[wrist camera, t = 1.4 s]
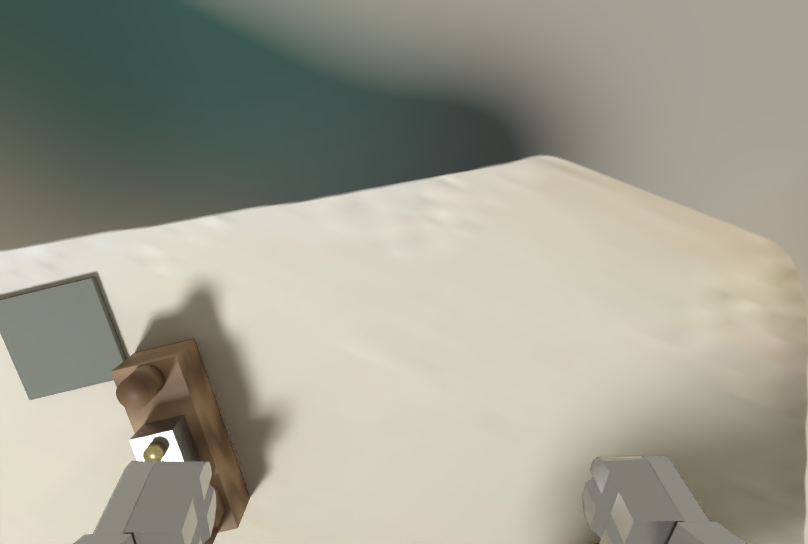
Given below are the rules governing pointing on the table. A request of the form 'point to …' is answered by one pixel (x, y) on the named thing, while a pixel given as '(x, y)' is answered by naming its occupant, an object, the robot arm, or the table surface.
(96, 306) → the felt mat
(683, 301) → the table surface
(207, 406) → the plane body
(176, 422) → the lever cap
